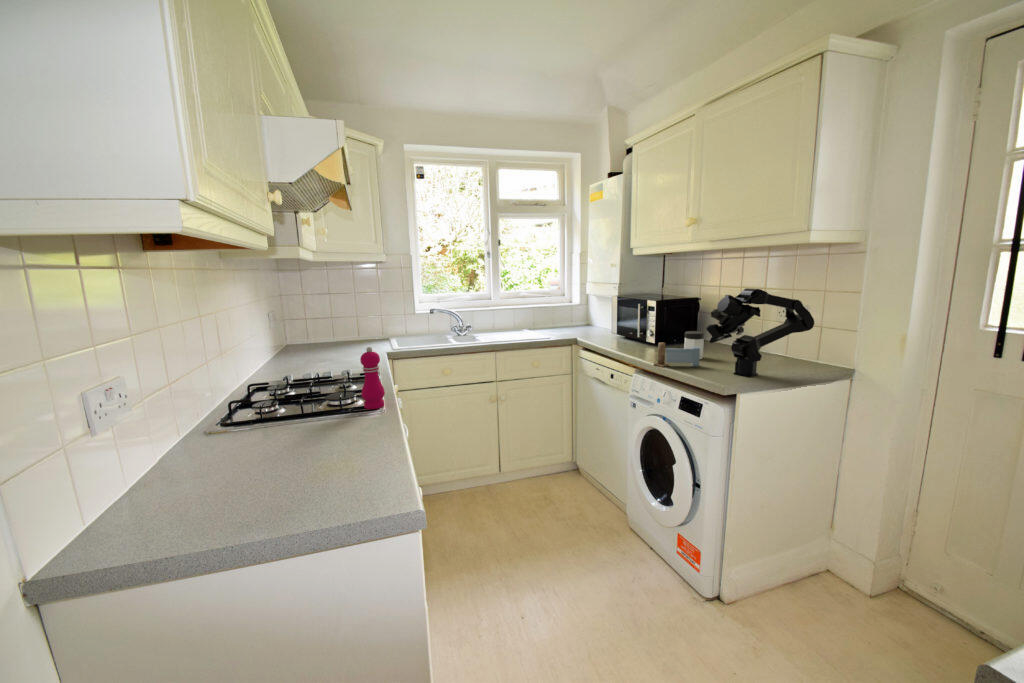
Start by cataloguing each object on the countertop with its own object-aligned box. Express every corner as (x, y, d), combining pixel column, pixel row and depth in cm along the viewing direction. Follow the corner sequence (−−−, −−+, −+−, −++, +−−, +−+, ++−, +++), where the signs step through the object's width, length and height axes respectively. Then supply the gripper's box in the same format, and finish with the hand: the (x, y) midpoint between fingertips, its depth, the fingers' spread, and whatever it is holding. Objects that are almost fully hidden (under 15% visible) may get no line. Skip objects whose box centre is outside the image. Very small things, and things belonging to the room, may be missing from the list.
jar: (683, 355, 199) (684, 330, 197) (701, 356, 196) (703, 331, 194) (684, 359, 191) (685, 333, 188) (703, 360, 188) (704, 334, 186)
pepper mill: (373, 411, 132) (368, 349, 128) (358, 408, 135) (352, 348, 132) (390, 404, 138) (385, 345, 134) (375, 401, 141) (369, 344, 138)
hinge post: (668, 365, 179) (669, 343, 178) (662, 367, 177) (663, 344, 175) (659, 363, 183) (660, 341, 181) (653, 365, 181) (654, 342, 179)
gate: (666, 365, 178) (667, 348, 177) (665, 364, 181) (666, 347, 179) (698, 366, 176) (699, 348, 175) (697, 365, 178) (698, 347, 177)
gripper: (738, 300, 168) (710, 324, 179) (711, 304, 158) (684, 329, 169) (756, 321, 163) (727, 345, 174) (731, 326, 153) (701, 351, 164)
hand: (710, 342), depth 171 cm, fingers closed
